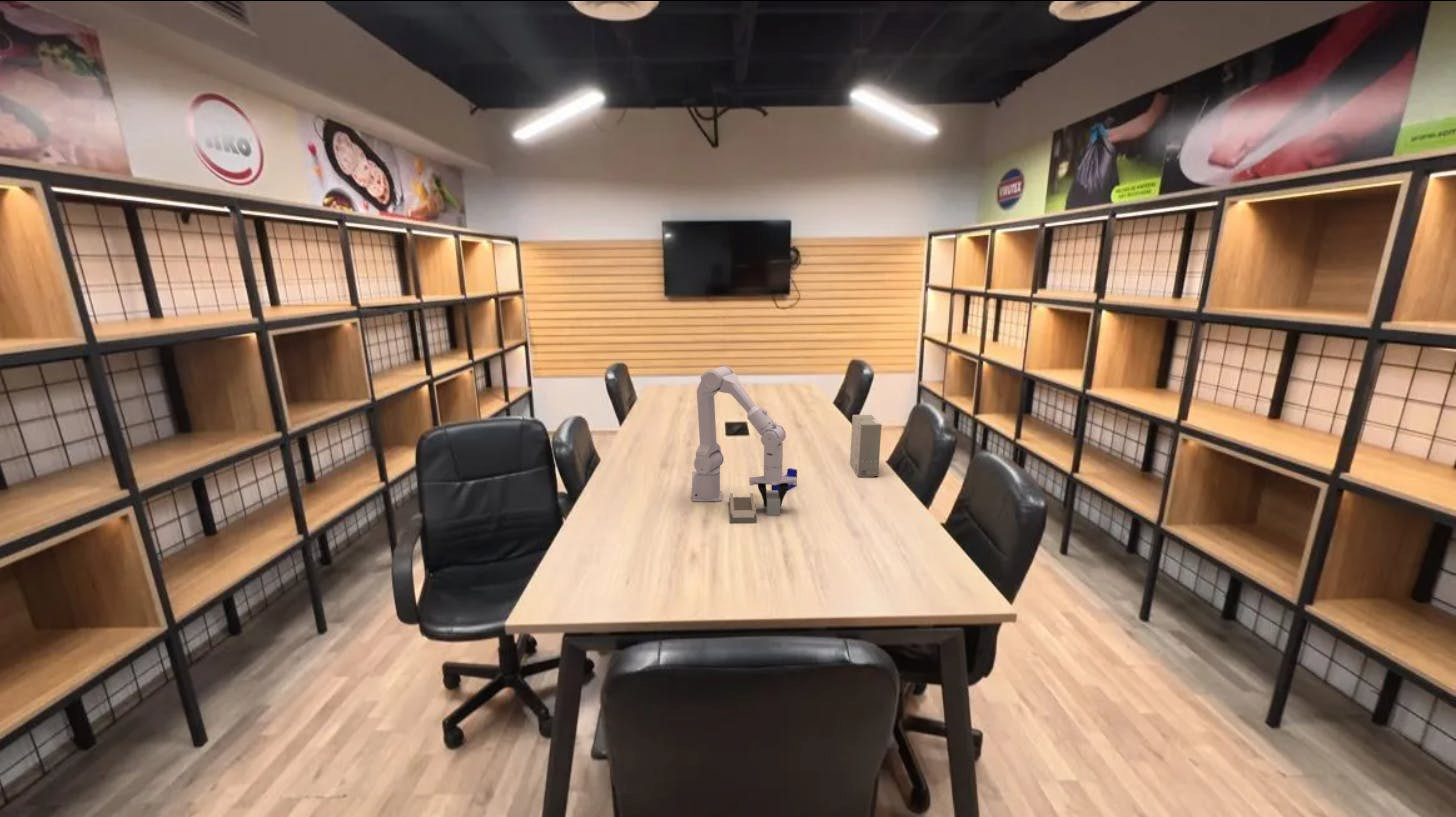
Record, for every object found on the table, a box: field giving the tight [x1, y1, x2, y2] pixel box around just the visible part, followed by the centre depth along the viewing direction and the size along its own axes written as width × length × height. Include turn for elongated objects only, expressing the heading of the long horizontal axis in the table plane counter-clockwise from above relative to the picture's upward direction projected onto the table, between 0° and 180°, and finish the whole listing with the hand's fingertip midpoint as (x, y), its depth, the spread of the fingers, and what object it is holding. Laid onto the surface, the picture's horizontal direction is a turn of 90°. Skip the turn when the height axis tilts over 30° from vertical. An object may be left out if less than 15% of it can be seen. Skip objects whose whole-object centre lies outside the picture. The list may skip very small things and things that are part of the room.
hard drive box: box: [849, 414, 883, 478], centre depth 207 cm, size 16×8×20 cm, turn 179°
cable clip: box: [770, 467, 798, 493], centre depth 191 cm, size 12×4×6 cm, turn 144°
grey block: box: [765, 489, 781, 517], centre depth 174 cm, size 4×8×5 cm, turn 1°
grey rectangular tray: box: [728, 492, 758, 524], centre depth 173 cm, size 8×16×4 cm, turn 1°
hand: (772, 505), depth 175 cm, fingers closed on grey block, 4 cm apart
